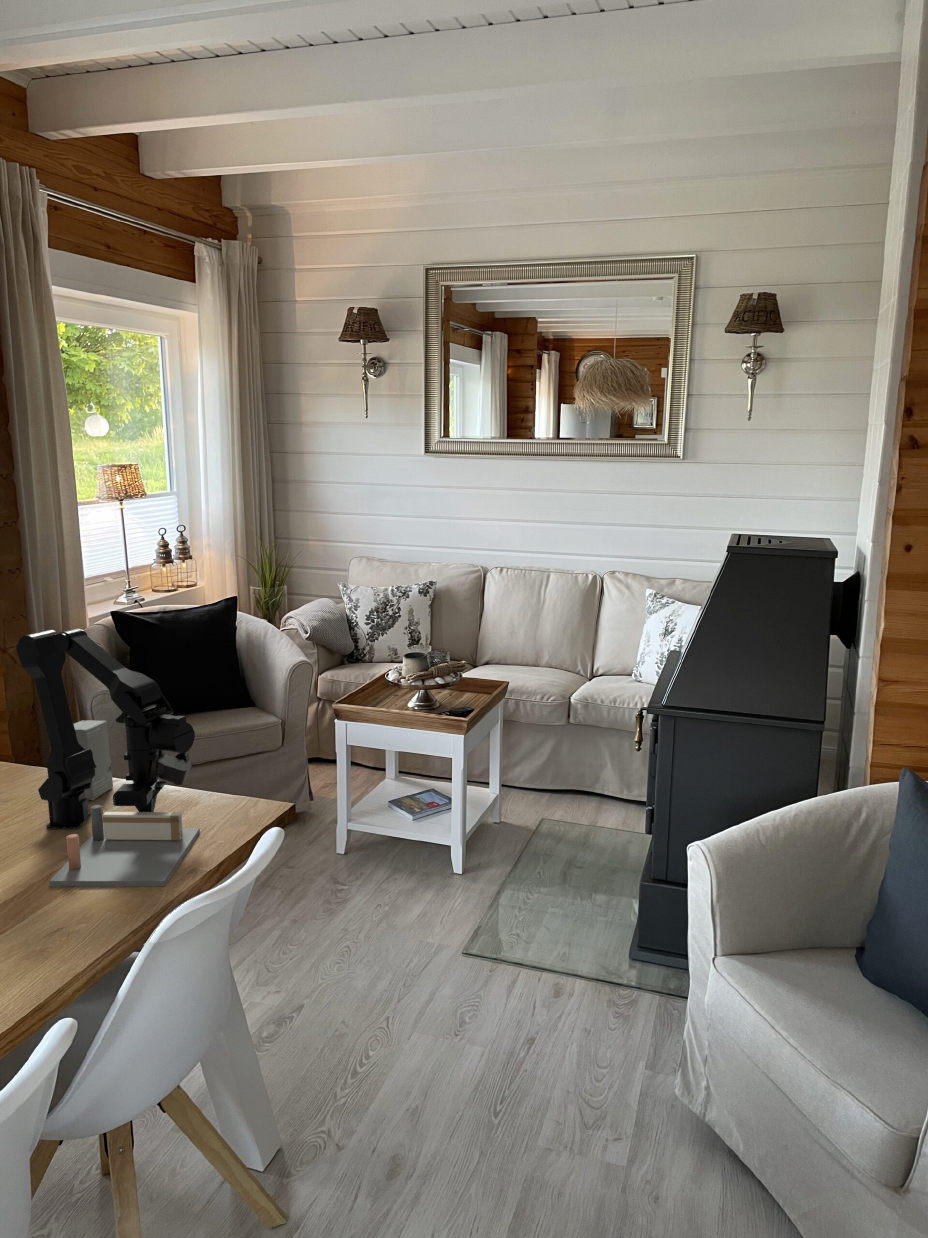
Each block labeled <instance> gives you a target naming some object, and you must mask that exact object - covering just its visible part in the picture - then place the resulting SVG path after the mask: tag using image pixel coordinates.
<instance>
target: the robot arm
mask: <svg viewBox="0 0 928 1238" xmlns="http://www.w3.org/2000/svg"><path fill="white" fill-rule="evenodd" d="M15 647H16V652H17V653H16V654H17V657H18V659H19V662H20V664H21V667H22V669H23V670H25V672H26V673H27V674H28V675H29V676H30V677H31V678H33V680H34V684H35V687H36V690H37V692H36V693H37V695H38V700H39V703H40V707H41V712H42V716H43V720H44V723H45V727H46V732H47V735H48V739H49V743H50V749H51V750H50V752H49V753H50V754H49V757H48V761H47V763H46V769H47V778H46V779H45V780H44V782H43V783H42V784H41V786H39V787H38V788H37V790H38V794H39V798H40V799H41V800H43V801H47V806H48V817H49V823H47V824H46V827H45V828H46V829H78V828H80V827H81V826H82V825H83V824H84V823H85V822H86V821H87V820H88V819H89V818H91V813H90V810H89V800H88V799H87V798H85V791H84V790H86V789H89V788H91V783H92V779H93V777H94V776H95V768H96V767H97V766H96V765H95V763H94V760H93V752H92V751H91V749H87V750H85V749H84V748H83V747H82V746H81V745H80V744H79V743H78V740H77V736H76V732H75V728H74V721H73V716H72V711H71V708H70V704H69V699H68V696H67V695H68V694H67V691H66V686H65V683H64V679H63V675H62V672H63V669H64V666H65V664H66V663H65V662H66V660H67V655H68V656H69V657H70V658H72V660H74V661H75V662H76V663H78V664H79V665H80V666H81V667H82V668H83V669H85V670H86V671H87V672H88V673H89V674H90V675H92V676H93V677H94V678H95V679H96V680H97V681H99V682H100V683H102V685H104V686H105V688H107V690H108V691H109V694H110V695H109V696H110V699H111V701H112V702H113V703H114V704H115V705H116V706H117V707H118V709H119V710H120V711H121V714H119V716H117V717H116V718H115V722H116V723H120V724H124V727H125V740H126V750H127V751H126V752H125V753H124V755H123V760H124V761H127V763H128V765H127V767H128V772H127V773H126V774H125V781H132V783H123V784H122V785H121V786H120V787H119V788H118V789H117V790H116V791H115V792H114V793H113V794H112V804H113V806H114V807H135V808H136V810H137V812H155V807H156V803H157V798H158V795H159V793H160V792H161V790H162V789H163V788H164V786H166V784H167V782H170V783H173V784H174V785H175V786H183V784H184V783H185V782H186V780H187V779H188V776H189V773H190V770H191V768H192V766H193V765H192V760H190V755H189V751H190V750H191V748H192V747H193V744H194V742H195V737H196V732H195V730H194V728H193V725H192V724H190V723H188V722H187V717H186V716H185V715H173V714H174V710H173V708H172V706H171V703H169V701H168V700H167V698H166V697H165V695H164V693H163V691H162V690H161V686H160V685H159V684H158V683H157V681H155V680H154V679H152V678H150V676H147V675H145V674H144V673H141V672H139V671H134V670H131V669H128V668H127V667H125V666H124V665H123V664H122V663H120V662H119V661H118V660H117V659H116V658H115V657H113V656H112V655H111V654H110V653H108V652H107V651H106V650H105V649H103V648H102V647H101V646H100V645H99V644H98V643H96V641H94V640H93V639H91V638H90V637H89V636H88V634H87V632H86V631H85V630H84V629H82V628H72V629H69V630H64V631H60V632H57V631H56V630H54V629H47V630H43V631H39V632H34V633H29V634H26V635H23V636H21V637H20V638H19V640H18V642H17V643H16V645H15ZM66 654H67V655H66ZM153 708H155V709H153ZM151 709H152V710H151ZM148 710H150V711H148ZM145 711H148V712H145ZM144 712H145V713H144ZM166 751H167V752H170V753H177V754H176V755H175V756H174V754H171V755H167V754H165V752H166ZM160 779H161V780H160Z"/></svg>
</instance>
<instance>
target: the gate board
mask: <svg viewBox="0 0 928 1238" xmlns="http://www.w3.org/2000/svg"><path fill="white" fill-rule="evenodd" d="M90 819H91V830H92V831H91V832H92V834H91V835H90V837H88V839H87V840H86V841H85V842H84V843H82V845H81V846H80V838H79V834H76V833H74V834H73V833H72V834H69V835H66V837H65V838H66V848H67V850H66V851H67V859H68V860H67V861H66V862H65V863H64V865H62V867H61V868H60V869H59V870H58V871H57V872H56V873H55V874H54V875H53V876H52V877H51V879H49V887H165V886H166V885H167V884H168V882H169V880H171V877H172V876H173V874H174V873H175V871H176V870H177V869H178V867H179V865H180V864H181V862H182V861H183V860H184V857H185V856H186V855H187V853H188V852H189V850H190V848H192V845H193V844H194V843H195V841H196V840H197V838H198V837H199V835H200V833H201V831H200V827H196V828H195V827H190V828H189V827H182V833H183V837H182V838H181V839H180V840H117V839H105V837H104V824H103V807H102V805H100V804H98V805H97V804H96V805H93V806H91V807H90Z"/></svg>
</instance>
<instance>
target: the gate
mask: <svg viewBox="0 0 928 1238" xmlns="http://www.w3.org/2000/svg"><path fill="white" fill-rule="evenodd" d="M102 817H103V828H104V837H105V839H117V840H180V839H181V838H182V837H183V833H182V828H183V823H182V822H183V821H182V820H183V819H182V818H183V817H182V811H172V812H170V811H154V812H139V811H105V812H104V813H102Z"/></svg>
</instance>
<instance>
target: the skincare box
mask: <svg viewBox="0 0 928 1238" xmlns="http://www.w3.org/2000/svg"><path fill="white" fill-rule="evenodd" d="M73 724H74V728H75V732H76V736H77V740H78V743H79V744H80V745H81V746H82V747H83V748H84V749H85V750H87V749H91V751H92V752H93V760H94V763H95V765H96V766H97V767H96V768H95V776H94V777H93V779H92V783H91V788H89V789H86V790H84V791H85V798H87V799H88V801H89V800H90V801H94V800H96V799H97V798H99V797H100V796H101V795H103V794H105V793H106V792H108V791H109V790H111V789H113V788H114V780H113V771H112V763H111V762H112V760H111V751H110V741H109V740H110V739H109V732H108V720H93V719H92V720H91V719H90V720H89V719H88V720H87V719H85V720H83V719H82V720H80V721H77V722H73Z"/></svg>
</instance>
